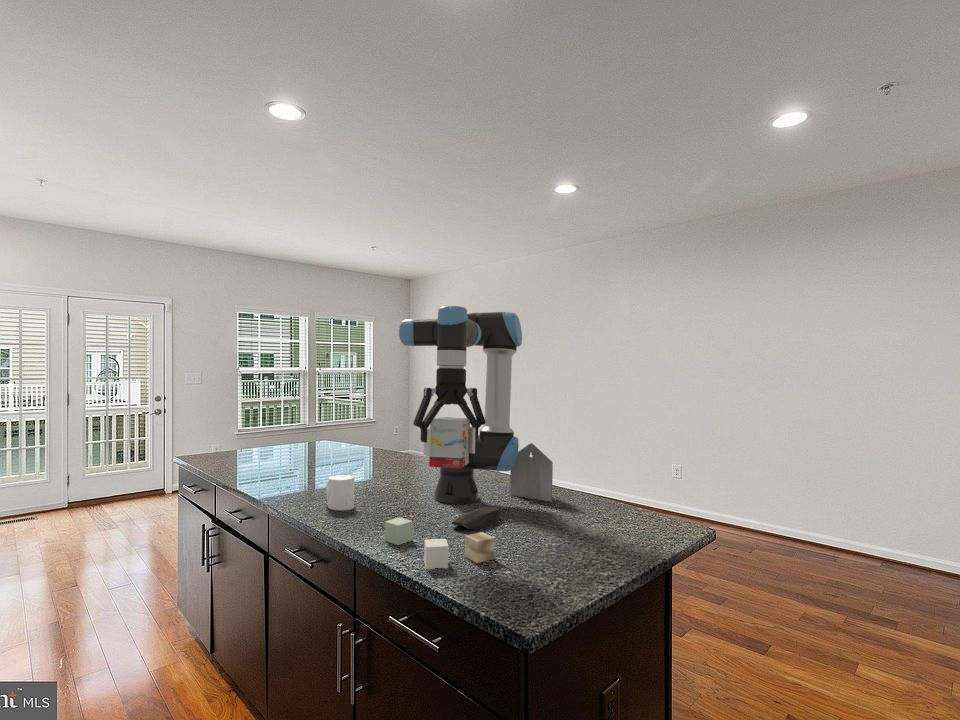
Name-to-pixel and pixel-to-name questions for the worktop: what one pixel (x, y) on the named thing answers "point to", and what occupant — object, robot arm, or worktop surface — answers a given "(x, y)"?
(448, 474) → the robot arm
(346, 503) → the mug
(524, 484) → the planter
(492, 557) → the maple cube
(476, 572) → the worktop surface
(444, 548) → the off-white cube
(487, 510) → the decorative stone
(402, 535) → the sage cube
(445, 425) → the ink box
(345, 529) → the worktop surface
